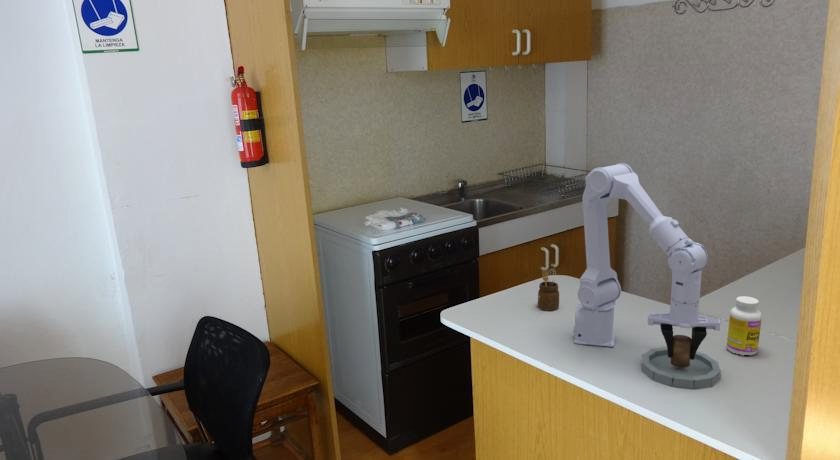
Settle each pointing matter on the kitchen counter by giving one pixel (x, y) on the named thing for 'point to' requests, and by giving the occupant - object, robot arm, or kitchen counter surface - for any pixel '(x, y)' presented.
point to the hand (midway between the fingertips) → (680, 356)
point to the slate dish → (680, 370)
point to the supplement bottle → (744, 326)
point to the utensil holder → (548, 294)
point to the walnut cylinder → (681, 351)
